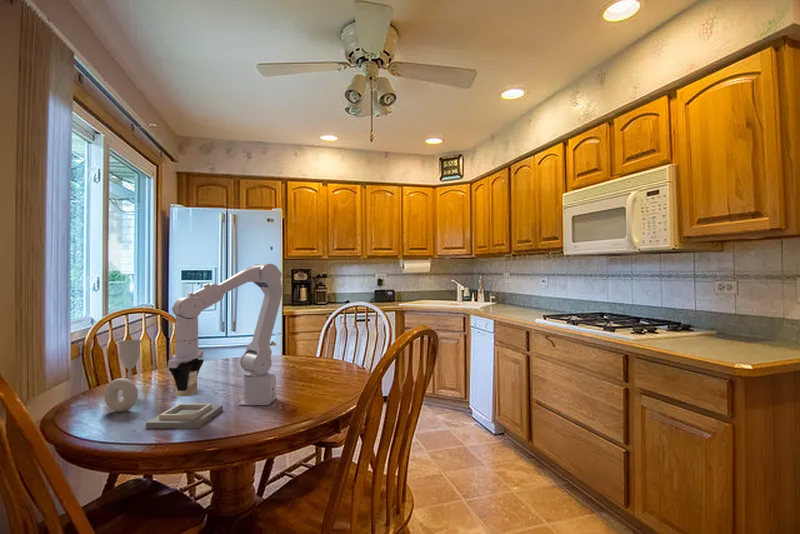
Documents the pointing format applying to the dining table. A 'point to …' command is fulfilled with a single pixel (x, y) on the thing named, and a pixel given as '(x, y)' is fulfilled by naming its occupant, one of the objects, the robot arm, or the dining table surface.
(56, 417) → the dining table surface
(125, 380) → the donut
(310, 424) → the dining table surface
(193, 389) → the block
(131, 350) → the chalice
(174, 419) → the base
